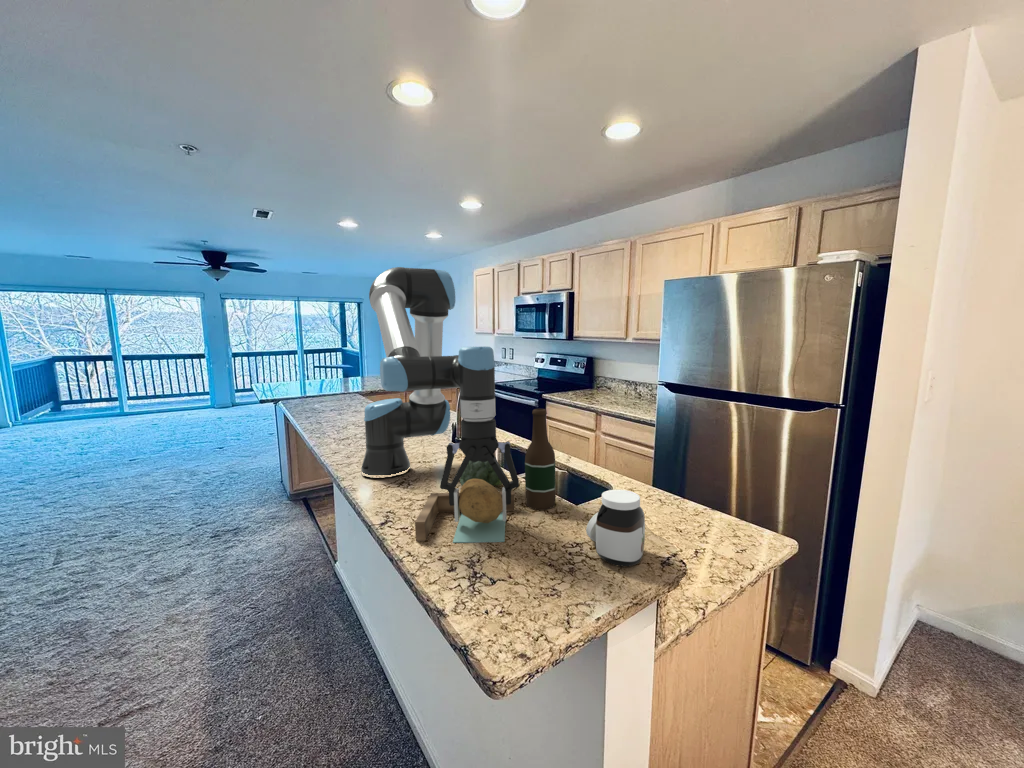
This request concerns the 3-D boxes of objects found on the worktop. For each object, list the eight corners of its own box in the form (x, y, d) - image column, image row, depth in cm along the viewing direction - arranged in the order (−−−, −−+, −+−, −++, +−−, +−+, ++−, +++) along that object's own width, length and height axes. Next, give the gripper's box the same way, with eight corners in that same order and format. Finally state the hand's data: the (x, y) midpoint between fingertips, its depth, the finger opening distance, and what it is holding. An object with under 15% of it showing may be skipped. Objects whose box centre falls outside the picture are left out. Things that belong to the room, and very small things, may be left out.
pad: (461, 513, 95) (461, 512, 95) (505, 512, 95) (505, 511, 95) (452, 542, 81) (452, 542, 81) (504, 541, 81) (504, 540, 81)
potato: (467, 537, 80) (466, 498, 79) (452, 511, 93) (451, 477, 92) (513, 529, 83) (512, 491, 82) (492, 505, 96) (492, 472, 95)
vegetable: (524, 483, 110) (488, 471, 99) (492, 511, 113) (454, 502, 102) (507, 450, 118) (472, 436, 107) (478, 477, 121) (442, 466, 111)
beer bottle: (519, 506, 99) (517, 410, 97) (535, 496, 105) (533, 406, 103) (547, 513, 95) (545, 412, 93) (561, 502, 101) (560, 408, 99)
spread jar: (632, 576, 68) (632, 509, 67) (571, 557, 74) (571, 496, 73) (652, 546, 78) (652, 488, 77) (597, 532, 84) (597, 478, 83)
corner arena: (431, 508, 99) (431, 493, 98) (514, 507, 99) (514, 491, 98) (415, 540, 82) (414, 521, 82) (515, 538, 82) (515, 519, 82)
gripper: (422, 422, 82) (426, 527, 84) (530, 420, 82) (532, 525, 84) (429, 416, 90) (433, 512, 92) (529, 414, 90) (530, 510, 92)
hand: (480, 518), depth 88 cm, fingers closed on potato, 10 cm apart
